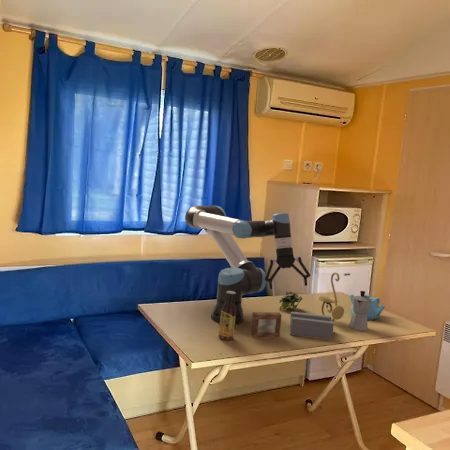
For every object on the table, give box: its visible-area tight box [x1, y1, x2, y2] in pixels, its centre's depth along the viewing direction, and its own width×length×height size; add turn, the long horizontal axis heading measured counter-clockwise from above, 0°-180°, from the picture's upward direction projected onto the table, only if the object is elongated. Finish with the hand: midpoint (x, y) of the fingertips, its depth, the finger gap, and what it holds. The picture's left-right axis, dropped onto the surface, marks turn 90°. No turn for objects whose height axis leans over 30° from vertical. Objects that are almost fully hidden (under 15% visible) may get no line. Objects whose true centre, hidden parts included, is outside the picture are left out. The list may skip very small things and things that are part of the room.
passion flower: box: [278, 291, 303, 312], centre depth 234 cm, size 11×11×12 cm
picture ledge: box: [289, 311, 335, 341], centre depth 204 cm, size 18×12×7 cm, turn 84°
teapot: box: [349, 294, 386, 321], centre depth 235 cm, size 15×17×11 cm
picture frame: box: [250, 311, 282, 338], centre depth 195 cm, size 12×3×10 cm, turn 104°
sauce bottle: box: [218, 291, 236, 341], centre depth 188 cm, size 7×6×20 cm
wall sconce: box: [318, 272, 345, 323], centre depth 220 cm, size 14×10×25 cm
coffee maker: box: [348, 290, 371, 332], centre depth 216 cm, size 15×9×18 cm, turn 151°
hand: (289, 294), depth 203 cm, fingers open, 13 cm apart
